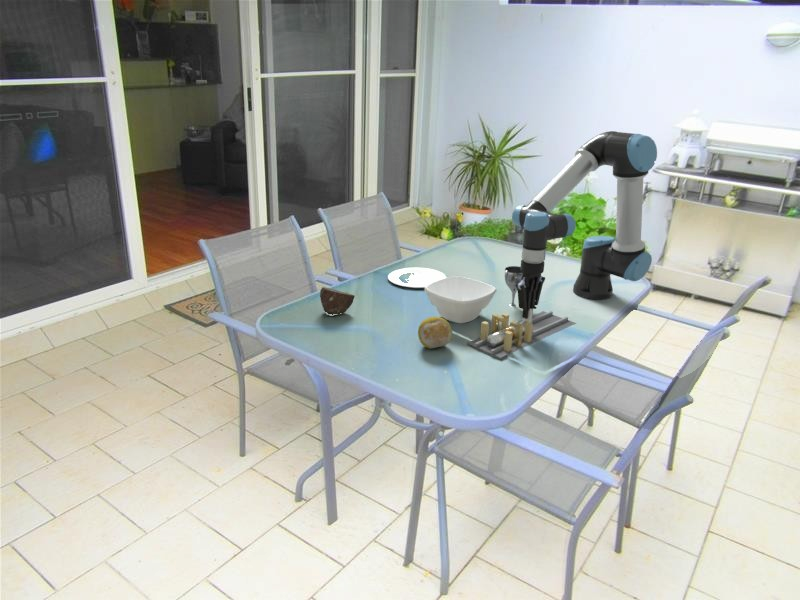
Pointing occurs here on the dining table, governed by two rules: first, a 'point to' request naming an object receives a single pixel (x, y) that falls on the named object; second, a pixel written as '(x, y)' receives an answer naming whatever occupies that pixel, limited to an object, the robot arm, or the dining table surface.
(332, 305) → the brown coconut half
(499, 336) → the tube
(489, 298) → the bowl
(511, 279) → the wine glass
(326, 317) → the dining table surface
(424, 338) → the fruit
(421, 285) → the plate
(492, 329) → the aperture bridge
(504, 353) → the guide plate
